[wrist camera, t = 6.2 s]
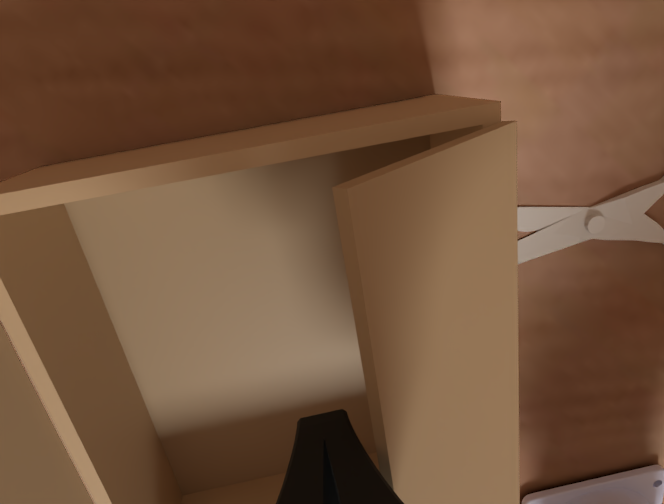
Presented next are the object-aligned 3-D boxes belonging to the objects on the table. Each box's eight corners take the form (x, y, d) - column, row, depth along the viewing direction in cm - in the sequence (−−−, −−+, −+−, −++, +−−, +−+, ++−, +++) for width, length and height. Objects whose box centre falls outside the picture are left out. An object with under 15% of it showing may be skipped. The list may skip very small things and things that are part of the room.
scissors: (808, 281, 21) (392, 374, 20) (790, 274, 22) (388, 364, 21) (871, 32, 17) (357, 131, 16) (846, 34, 18) (353, 129, 17)
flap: (509, 519, 17) (520, 526, 17) (411, 657, 14) (421, 667, 14) (501, 121, 12) (516, 121, 11) (332, 187, 8) (346, 188, 8)
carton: (460, 433, 22) (509, 527, 18) (177, 496, 21) (150, 611, 17) (435, 94, 16) (500, 101, 12) (40, 166, 15) (-59, 204, 11)
